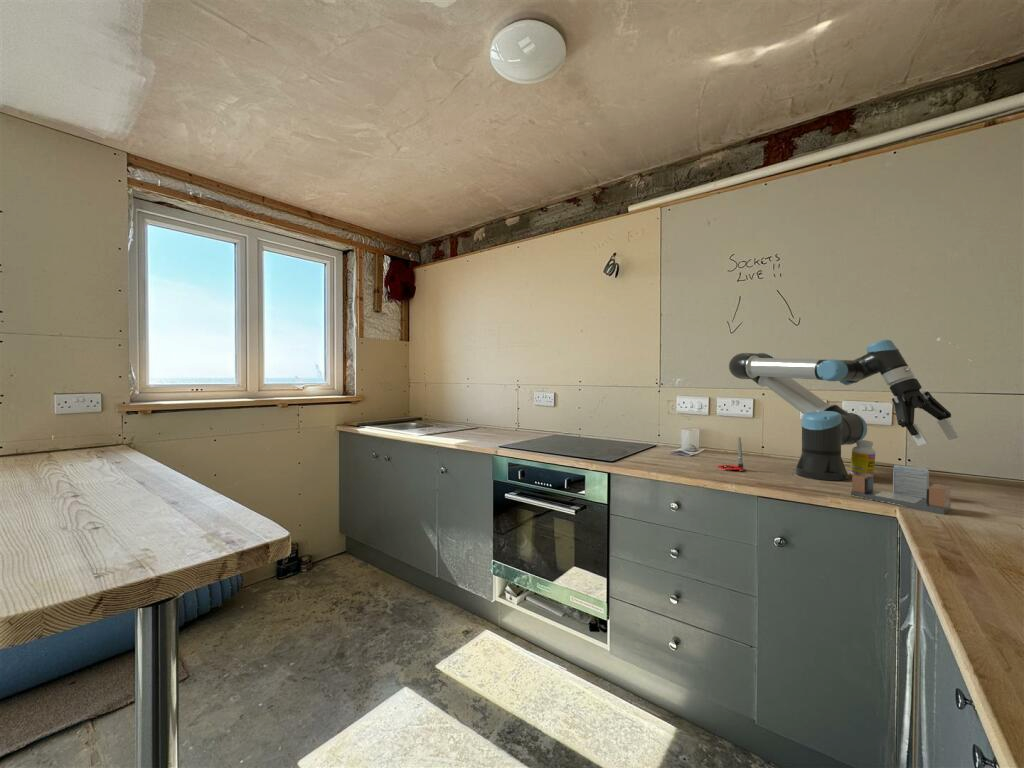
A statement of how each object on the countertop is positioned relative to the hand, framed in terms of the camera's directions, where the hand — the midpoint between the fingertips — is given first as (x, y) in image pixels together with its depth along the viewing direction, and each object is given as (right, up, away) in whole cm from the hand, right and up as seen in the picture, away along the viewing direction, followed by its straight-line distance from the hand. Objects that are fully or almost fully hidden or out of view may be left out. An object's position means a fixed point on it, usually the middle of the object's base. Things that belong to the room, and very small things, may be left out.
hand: (938, 441), depth 135 cm
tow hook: (-51, -16, +31) cm, 62 cm away
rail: (-25, -16, -13) cm, 32 cm away
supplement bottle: (-8, -16, +21) cm, 27 cm away
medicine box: (-15, -16, -6) cm, 23 cm away
